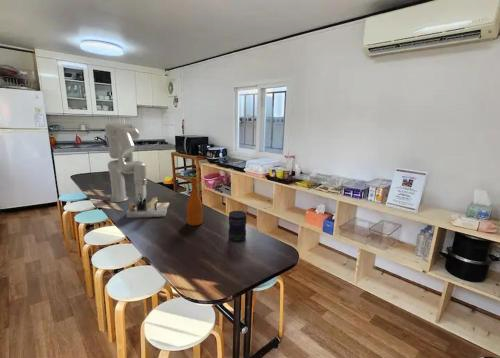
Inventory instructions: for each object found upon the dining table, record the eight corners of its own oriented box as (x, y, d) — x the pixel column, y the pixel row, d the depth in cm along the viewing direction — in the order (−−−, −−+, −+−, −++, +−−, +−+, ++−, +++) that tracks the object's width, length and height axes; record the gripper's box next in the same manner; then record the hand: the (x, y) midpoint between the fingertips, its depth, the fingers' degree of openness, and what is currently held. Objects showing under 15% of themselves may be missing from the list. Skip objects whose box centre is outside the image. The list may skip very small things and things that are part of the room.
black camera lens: (239, 244, 133) (240, 218, 130) (224, 239, 138) (224, 214, 135) (249, 237, 141) (250, 213, 138) (235, 233, 146) (235, 209, 143)
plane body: (126, 217, 163) (125, 204, 161) (130, 212, 172) (129, 199, 170) (165, 216, 168) (164, 203, 165) (166, 211, 176) (166, 199, 174)
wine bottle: (205, 222, 161) (205, 176, 154) (196, 227, 152) (195, 180, 145) (193, 219, 165) (192, 174, 158) (183, 224, 156) (182, 177, 149)
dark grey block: (136, 210, 165) (136, 203, 164) (138, 207, 170) (138, 200, 169) (146, 210, 166) (146, 203, 165) (148, 207, 171) (147, 200, 170)
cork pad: (151, 209, 180) (151, 207, 180) (154, 203, 190) (154, 202, 190) (167, 208, 182) (167, 207, 182) (169, 203, 192) (169, 202, 192)
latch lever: (151, 208, 155) (151, 204, 154) (147, 208, 155) (147, 204, 154) (157, 200, 170) (157, 196, 169) (154, 200, 169) (153, 196, 169)
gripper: (137, 178, 171) (139, 203, 176) (130, 185, 155) (133, 212, 159) (149, 178, 173) (150, 203, 177) (143, 185, 156) (145, 211, 160)
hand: (142, 207), depth 168 cm, fingers open, 7 cm apart
